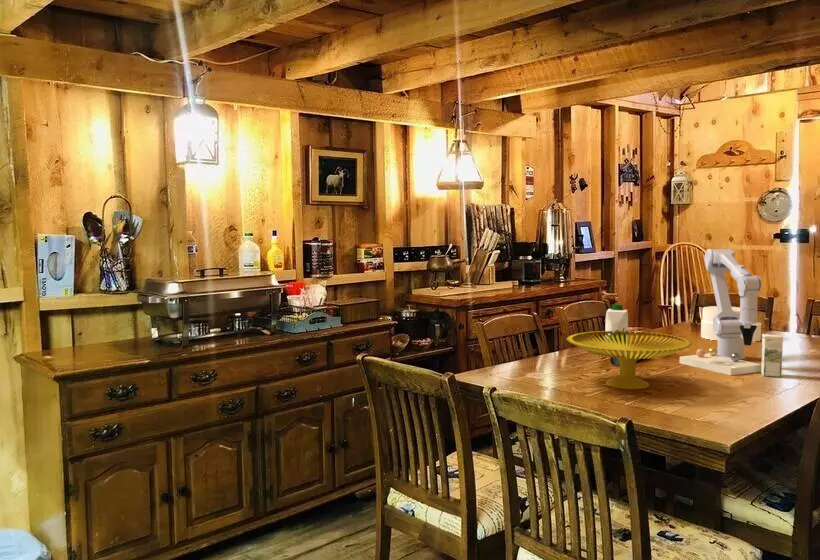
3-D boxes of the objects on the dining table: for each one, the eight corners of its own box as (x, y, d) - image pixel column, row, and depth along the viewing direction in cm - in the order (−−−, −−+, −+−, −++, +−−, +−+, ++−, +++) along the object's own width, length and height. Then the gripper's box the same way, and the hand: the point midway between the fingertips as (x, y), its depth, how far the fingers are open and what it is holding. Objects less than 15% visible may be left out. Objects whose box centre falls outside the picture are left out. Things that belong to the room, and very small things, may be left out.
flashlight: (609, 365, 265) (609, 352, 265) (639, 358, 278) (639, 345, 278) (621, 367, 261) (621, 354, 261) (650, 360, 275) (651, 347, 274)
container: (758, 344, 305) (759, 313, 304) (697, 339, 318) (697, 310, 317) (762, 337, 322) (763, 308, 320) (704, 333, 335) (705, 305, 334)
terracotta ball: (700, 355, 268) (700, 347, 268) (707, 357, 265) (707, 349, 265) (694, 356, 267) (694, 348, 266) (700, 358, 264) (700, 349, 263)
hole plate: (708, 359, 273) (709, 353, 273) (761, 371, 251) (761, 364, 251) (679, 363, 267) (679, 356, 267) (730, 375, 245) (730, 368, 245)
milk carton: (628, 352, 290) (629, 304, 288) (626, 356, 282) (627, 307, 280) (606, 351, 293) (607, 303, 292) (604, 354, 285) (604, 306, 283)
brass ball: (712, 354, 270) (712, 346, 270) (718, 355, 267) (719, 347, 267) (706, 355, 269) (706, 347, 269) (712, 356, 266) (712, 348, 266)
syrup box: (778, 374, 246) (780, 333, 245) (781, 377, 241) (783, 336, 240) (760, 373, 248) (762, 332, 247) (763, 376, 243) (764, 335, 241)
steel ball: (734, 360, 259) (735, 351, 258) (742, 361, 256) (742, 353, 255) (728, 361, 257) (728, 352, 257) (735, 362, 254) (735, 354, 254)
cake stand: (678, 405, 207) (679, 355, 206) (548, 389, 228) (548, 344, 227) (702, 378, 241) (703, 335, 240) (587, 366, 262) (587, 327, 261)
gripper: (737, 305, 265) (736, 341, 267) (735, 310, 253) (734, 347, 254) (758, 306, 262) (757, 342, 263) (757, 311, 249) (756, 348, 250)
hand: (747, 345), depth 258 cm, fingers closed
